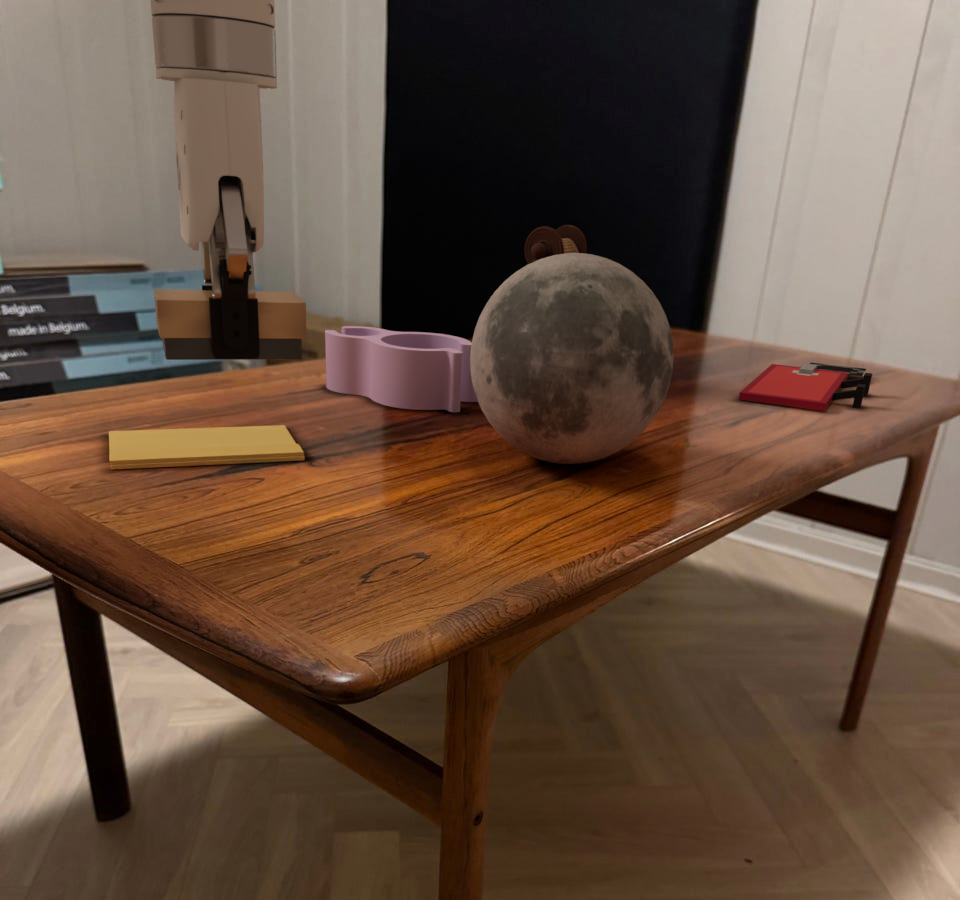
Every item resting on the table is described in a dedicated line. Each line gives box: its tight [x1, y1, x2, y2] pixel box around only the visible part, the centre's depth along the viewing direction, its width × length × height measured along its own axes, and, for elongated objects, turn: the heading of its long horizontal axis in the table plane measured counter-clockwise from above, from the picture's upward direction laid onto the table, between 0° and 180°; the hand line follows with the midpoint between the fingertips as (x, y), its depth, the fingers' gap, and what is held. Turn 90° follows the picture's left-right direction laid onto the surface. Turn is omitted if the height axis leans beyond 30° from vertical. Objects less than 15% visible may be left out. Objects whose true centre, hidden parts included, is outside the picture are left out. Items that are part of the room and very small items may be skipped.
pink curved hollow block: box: [324, 325, 478, 413], centre depth 119 cm, size 20×12×7 cm, turn 64°
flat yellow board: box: [108, 424, 306, 471], centre depth 96 cm, size 18×12×1 cm, turn 110°
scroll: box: [524, 224, 588, 265], centre depth 128 cm, size 15×15×20 cm
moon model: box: [470, 253, 675, 465], centre depth 94 cm, size 20×20×20 cm
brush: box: [153, 288, 308, 361], centre depth 68 cm, size 10×5×4 cm, turn 109°
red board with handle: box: [738, 362, 873, 412], centre depth 137 cm, size 30×3×15 cm
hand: (231, 347), depth 69 cm, fingers closed on brush, 5 cm apart
